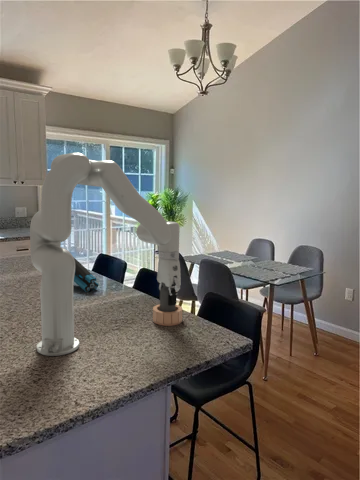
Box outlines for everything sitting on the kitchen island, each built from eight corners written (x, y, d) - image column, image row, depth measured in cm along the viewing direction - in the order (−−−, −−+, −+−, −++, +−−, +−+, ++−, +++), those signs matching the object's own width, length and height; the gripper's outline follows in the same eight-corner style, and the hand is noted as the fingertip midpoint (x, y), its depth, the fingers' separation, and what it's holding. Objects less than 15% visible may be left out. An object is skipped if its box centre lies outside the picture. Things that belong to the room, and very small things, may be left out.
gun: (82, 305, 175) (87, 276, 170) (55, 280, 191) (58, 253, 187) (97, 301, 181) (101, 274, 176) (69, 277, 197) (73, 251, 192)
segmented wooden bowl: (182, 326, 135) (183, 313, 135) (152, 325, 135) (152, 313, 134) (181, 315, 146) (181, 303, 145) (153, 315, 146) (153, 303, 145)
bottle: (156, 315, 140) (157, 277, 138) (167, 312, 144) (168, 274, 142) (167, 320, 136) (167, 280, 134) (178, 316, 140) (179, 277, 138)
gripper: (190, 258, 132) (188, 307, 134) (165, 250, 146) (164, 295, 149) (171, 260, 128) (170, 310, 130) (148, 252, 142) (148, 297, 145)
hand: (167, 302), depth 139 cm, fingers closed on bottle, 5 cm apart
